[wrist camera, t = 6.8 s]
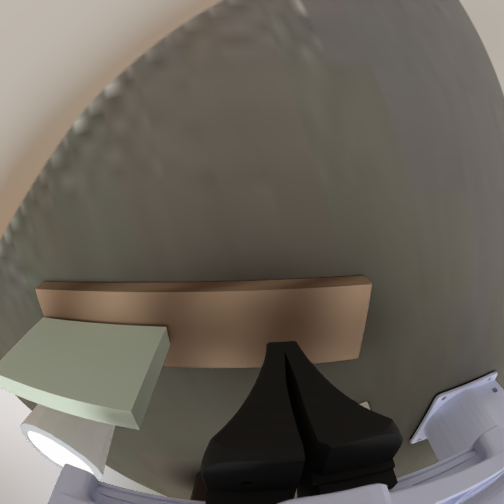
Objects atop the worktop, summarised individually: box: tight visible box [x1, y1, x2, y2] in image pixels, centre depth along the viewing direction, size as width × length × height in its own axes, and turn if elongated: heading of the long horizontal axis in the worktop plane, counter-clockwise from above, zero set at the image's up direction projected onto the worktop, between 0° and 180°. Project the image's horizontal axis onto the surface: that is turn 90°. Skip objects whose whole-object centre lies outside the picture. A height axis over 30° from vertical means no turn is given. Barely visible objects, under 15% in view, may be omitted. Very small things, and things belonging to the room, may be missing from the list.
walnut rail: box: [35, 275, 372, 368], centre depth 15 cm, size 20×5×1 cm, turn 92°
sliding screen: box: [0, 318, 170, 430], centre depth 11 cm, size 9×1×6 cm, turn 92°
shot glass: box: [20, 404, 115, 480], centre depth 15 cm, size 7×7×7 cm
